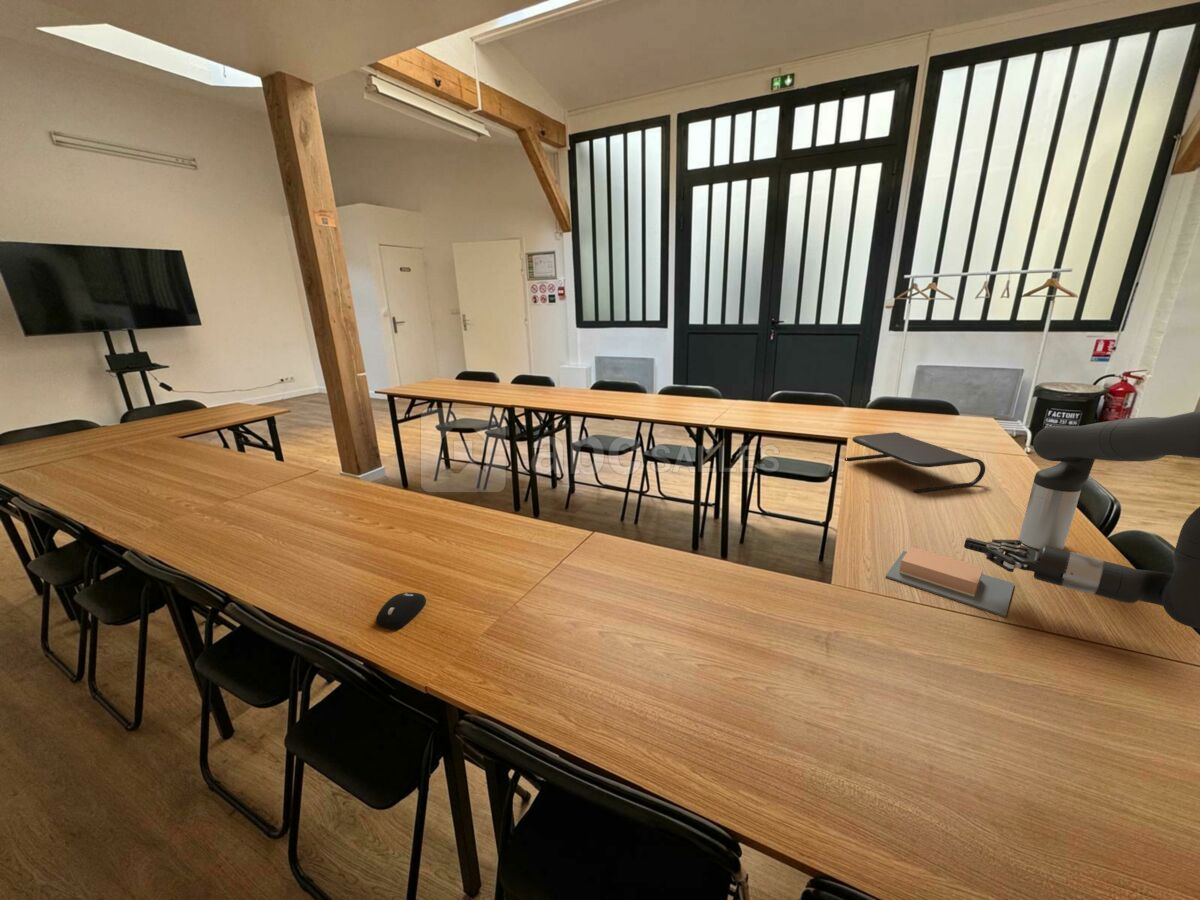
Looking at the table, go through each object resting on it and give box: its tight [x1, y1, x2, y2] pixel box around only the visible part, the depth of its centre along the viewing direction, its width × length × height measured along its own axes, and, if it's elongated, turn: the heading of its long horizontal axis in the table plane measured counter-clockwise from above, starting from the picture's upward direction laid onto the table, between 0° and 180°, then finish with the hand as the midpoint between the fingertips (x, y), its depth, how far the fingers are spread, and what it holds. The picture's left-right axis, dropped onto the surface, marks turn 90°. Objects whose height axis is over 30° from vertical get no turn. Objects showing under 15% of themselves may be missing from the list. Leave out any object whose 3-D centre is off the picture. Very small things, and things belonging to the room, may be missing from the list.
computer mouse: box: [375, 591, 427, 631], centre depth 109 cm, size 8×12×4 cm, turn 161°
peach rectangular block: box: [899, 546, 984, 597], centre depth 115 cm, size 9×4×15 cm
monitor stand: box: [843, 431, 986, 494], centre depth 183 cm, size 37×28×11 cm
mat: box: [885, 550, 1015, 618], centre depth 115 cm, size 16×23×1 cm
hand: (965, 542), depth 110 cm, fingers closed
